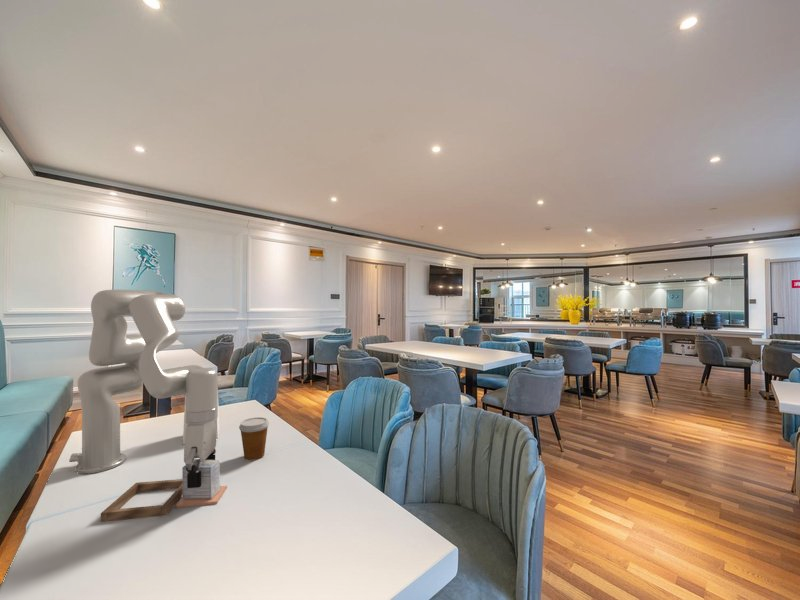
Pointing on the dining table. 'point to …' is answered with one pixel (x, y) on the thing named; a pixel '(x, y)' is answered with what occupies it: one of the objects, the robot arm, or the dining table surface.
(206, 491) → the medicine box
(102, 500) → the dining table surface
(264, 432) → the disposable coffee cup
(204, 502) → the terracotta tile
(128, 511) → the board
